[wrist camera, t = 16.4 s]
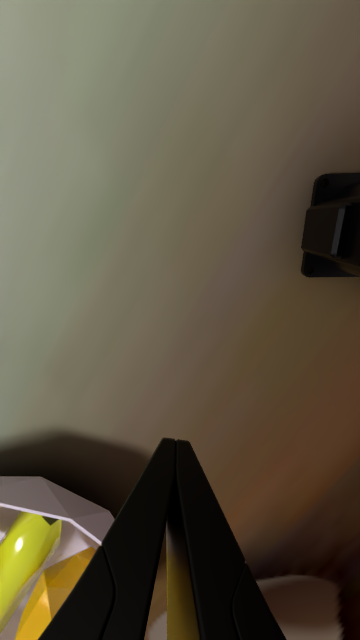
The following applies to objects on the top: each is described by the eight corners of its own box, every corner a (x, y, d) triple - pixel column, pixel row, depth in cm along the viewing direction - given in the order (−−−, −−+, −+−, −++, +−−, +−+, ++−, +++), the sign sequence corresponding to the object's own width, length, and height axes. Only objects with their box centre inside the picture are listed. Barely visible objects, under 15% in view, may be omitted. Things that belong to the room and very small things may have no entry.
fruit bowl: (24, 394, 24) (-108, 536, 13) (196, 546, 31) (200, 715, 20) (-135, 509, 30) (-309, 666, 19) (38, 612, 37) (-19, 766, 27)
